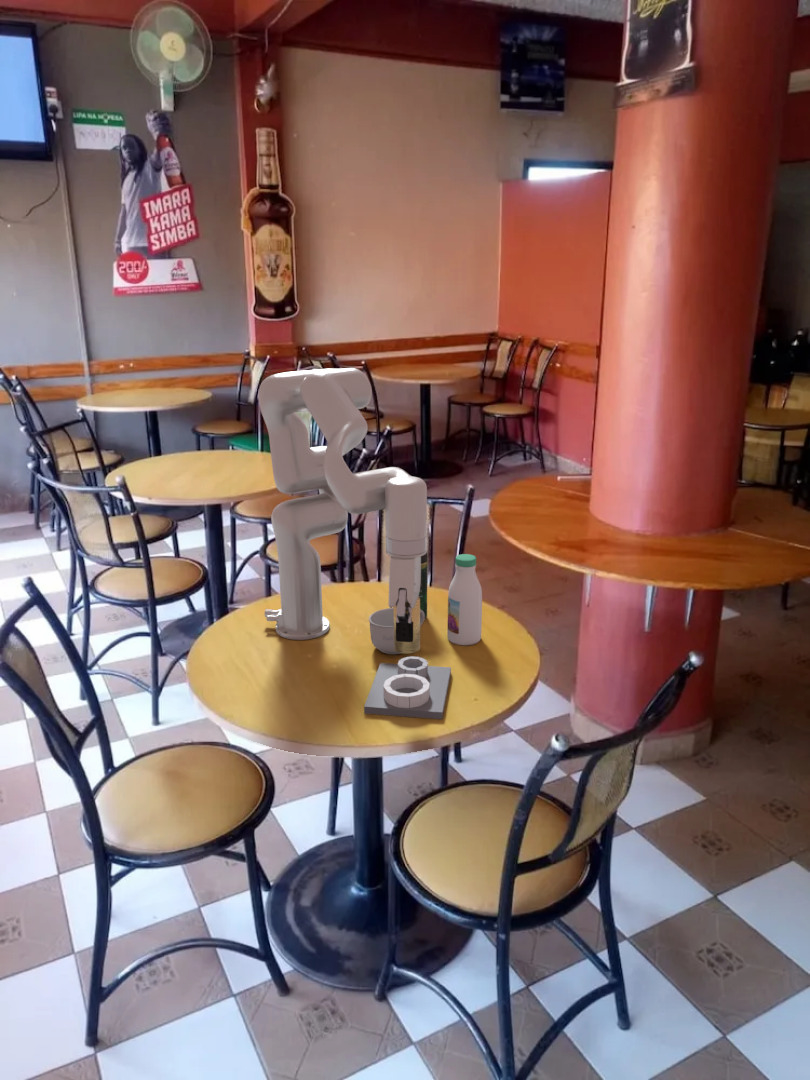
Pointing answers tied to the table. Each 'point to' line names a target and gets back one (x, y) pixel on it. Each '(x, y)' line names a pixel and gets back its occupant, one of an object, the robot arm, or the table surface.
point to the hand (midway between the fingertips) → (406, 633)
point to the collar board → (409, 689)
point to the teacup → (385, 629)
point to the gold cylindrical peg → (415, 645)
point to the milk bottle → (465, 603)
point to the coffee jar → (423, 584)
